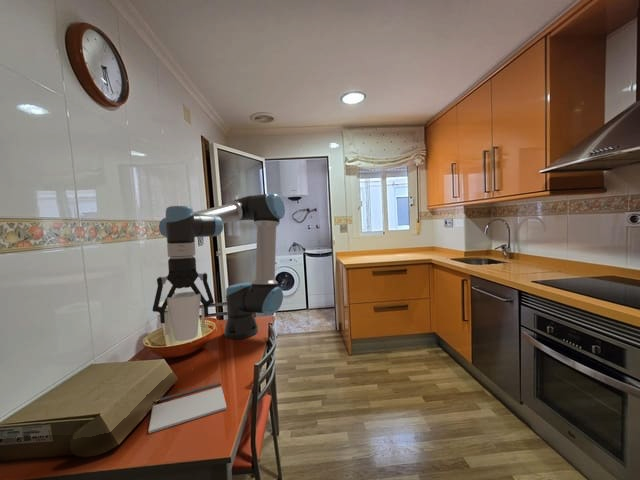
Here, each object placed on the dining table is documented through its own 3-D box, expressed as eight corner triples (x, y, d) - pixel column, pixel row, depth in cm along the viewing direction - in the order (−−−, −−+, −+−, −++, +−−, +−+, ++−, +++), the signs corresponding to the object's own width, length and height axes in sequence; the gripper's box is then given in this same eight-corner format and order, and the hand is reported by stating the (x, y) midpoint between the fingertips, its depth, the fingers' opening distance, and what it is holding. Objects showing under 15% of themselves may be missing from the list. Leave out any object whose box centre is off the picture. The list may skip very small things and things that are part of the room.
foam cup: (180, 331, 90) (178, 291, 90) (208, 330, 89) (206, 291, 89) (162, 343, 80) (159, 299, 80) (193, 342, 80) (190, 298, 80)
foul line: (220, 382, 88) (220, 381, 88) (220, 384, 87) (220, 383, 87) (154, 400, 80) (154, 399, 80) (154, 403, 79) (153, 402, 79)
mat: (221, 388, 84) (221, 386, 84) (226, 409, 75) (226, 406, 75) (153, 407, 77) (153, 405, 76) (148, 433, 67) (148, 431, 67)
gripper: (136, 261, 76) (141, 341, 77) (221, 255, 85) (225, 327, 86) (141, 259, 83) (145, 333, 84) (219, 254, 92) (222, 320, 93)
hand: (185, 330), depth 85 cm, fingers closed on foam cup, 9 cm apart
